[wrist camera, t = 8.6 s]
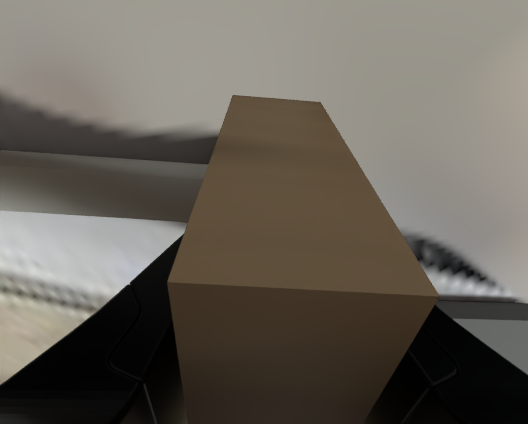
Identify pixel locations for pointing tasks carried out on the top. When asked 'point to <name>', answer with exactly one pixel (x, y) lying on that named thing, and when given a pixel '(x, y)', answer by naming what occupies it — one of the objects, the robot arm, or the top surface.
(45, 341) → the top surface
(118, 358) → the robot arm
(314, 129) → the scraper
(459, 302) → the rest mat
